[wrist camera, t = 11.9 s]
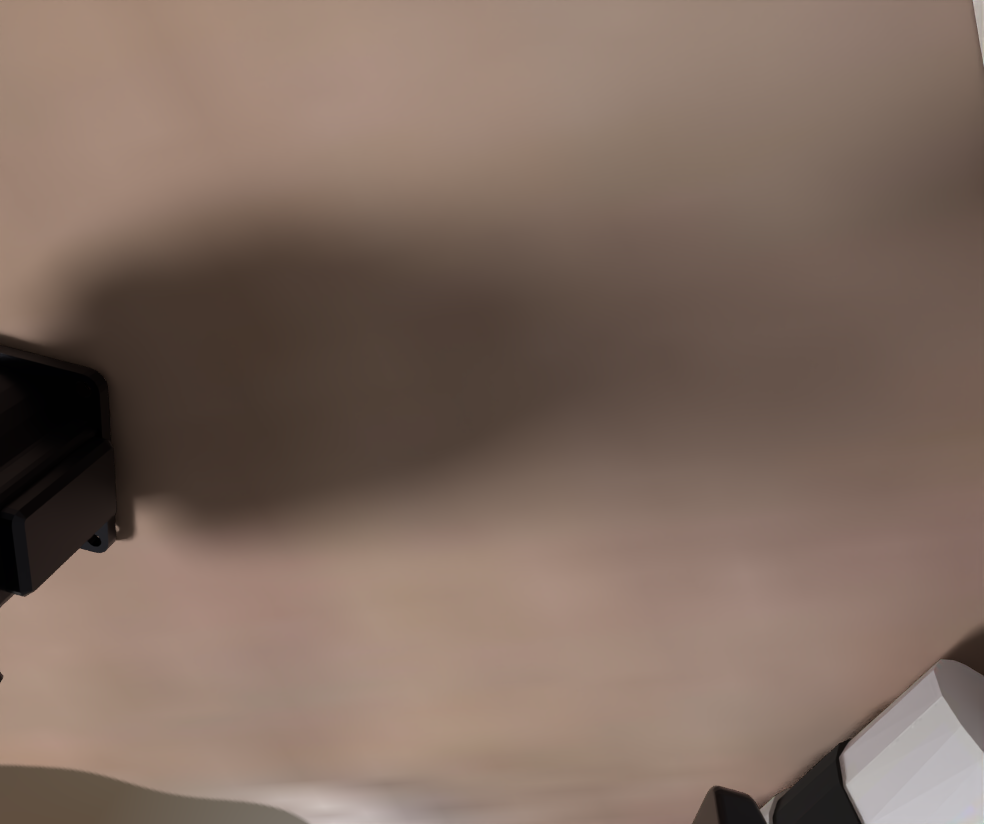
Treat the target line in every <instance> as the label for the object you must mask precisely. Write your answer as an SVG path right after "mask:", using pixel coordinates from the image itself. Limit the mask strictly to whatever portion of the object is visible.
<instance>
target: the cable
mask: <svg viewBox="0 0 984 824" xmlns="http://www.w3.org/2000/svg"><path fill="white" fill-rule="evenodd" d="M760 811H761V813H762V815H763V817H764V818H765V820H766V822H767V824H984V676H983V675H981V674H980V673H978V672H976V671H975V670H973V669H971V668H970V667H968V666H967V665H965V664H962V663H960V662H957V661H955V660H946V659H940V660H939V661H938V662H937V663H936V664H935V665H933V666H932V667H931V668H930V669H929V670H928V671H927V672H926V673H925V674H923V675H922V676H921V677H920V678H919V679H918V680H917V681H916V682H915V683H913V684H912V685H911V686H910V687H909V688H908V689H907V690H906V691H905V692H904V693H902V694H901V695H900V696H899V697H898V698H897V699H896V700H895V701H894V702H892V703H891V704H890V705H889V706H888V707H887V708H886V709H885V710H884V711H883V712H881V713H880V714H879V715H878V716H877V717H876V718H875V719H874V720H873V721H871V722H870V723H869V724H868V725H867V726H866V727H865V728H864V729H863V730H861V731H860V732H859V733H858V734H857V735H856V736H855V737H854V738H852V739H849V740H847V741H844V742H842V743H839V744H838V745H837V746H836V747H835V748H834V749H833V750H832V751H831V752H830V753H829V754H827V755H826V756H825V757H824V758H823V759H822V760H821V761H820V762H819V763H818V764H817V765H816V766H814V767H813V768H812V769H811V770H810V771H809V772H808V773H807V774H806V775H805V776H804V777H803V778H801V779H800V780H799V781H798V782H797V783H796V784H795V785H794V786H793V787H792V788H788V789H786V790H784V791H782V792H781V793H779V794H777V795H775V796H774V797H773V798H772V799H771V800H770V801H769V802H768V803H766V804H765V805H764V806H763V807H762V808H761V809H760Z"/></svg>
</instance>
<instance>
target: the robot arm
mask: <svg viewBox="0 0 984 824" xmlns="http://www.w3.org/2000/svg"><path fill="white" fill-rule="evenodd" d="M84 382H85V383H87V384H88V385H89V386H90V388H91V390H89V389H87V387H86V386H85V384H84ZM116 511H117V508H116V488H115V469H114V450H113V447H112V444H111V435H110V416H109V397H108V386H107V382H106V380H105V379H104V377H103V376H102V375H101V374H100V373H99V372H98V371H96V370H94V369H91V368H88V367H84V366H80V365H76V364H72V363H68V362H64V361H60V360H56V359H53V358H49V357H45V356H41V355H37V354H33V353H29V352H25V351H21V350H18V349H14V348H10V347H6V346H2V345H0V607H1V606H2V605H3V604H4V603H5V602H6V601H8V600H9V599H10V598H11V597H12V596H13V595H14V594H16V595H20V596H24V597H25V596H27V595H29V594H30V593H32V592H34V591H35V590H36V589H37V588H38V587H39V586H40V585H42V584H43V583H44V582H45V581H46V580H47V579H48V578H49V577H50V576H51V575H52V574H53V573H54V572H55V571H56V570H57V569H58V568H59V567H60V566H61V565H62V564H63V563H64V562H66V561H67V560H68V559H69V558H70V557H71V556H72V555H73V554H74V553H75V552H76V551H77V550H78V549H79V548H81V549H84V550H88V551H92V552H96V553H102V552H105V551H106V550H107V549H108V548H109V547H110V546H111V545H112V544H113V543H114V542H115V539H116V529H115V513H116ZM96 535H97V536H98V537H99V538H98V537H97V536H96ZM2 679H3V675H2V674H1V672H0V682H1V680H2ZM692 824H767V822H766V820H765V818H764V817H763V815H762V813H761V811H760V809H759V808H758V806H757V804H756V802H755V801H754V800H753V799H752V798H751V797H750V796H749V795H748V794H745V793H743V792H739V791H736V790H732V789H728V788H725V787H721V786H713V787H712V788H711V789H710V790H709V791H708V793H707V794H706V796H705V798H704V800H703V803H702V805H701V807H700V809H699V811H698V813H697V815H696V817H695V819H694V821H693V823H692Z"/></svg>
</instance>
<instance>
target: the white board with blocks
mask: <svg viewBox="0 0 984 824" xmlns="http://www.w3.org/2000/svg"><path fill="white" fill-rule="evenodd" d="M973 5H974V11H975V17H976V23H977V29H978V35H979V41H980V47H981V53H982V59H983V65H984V0H973Z"/></svg>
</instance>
